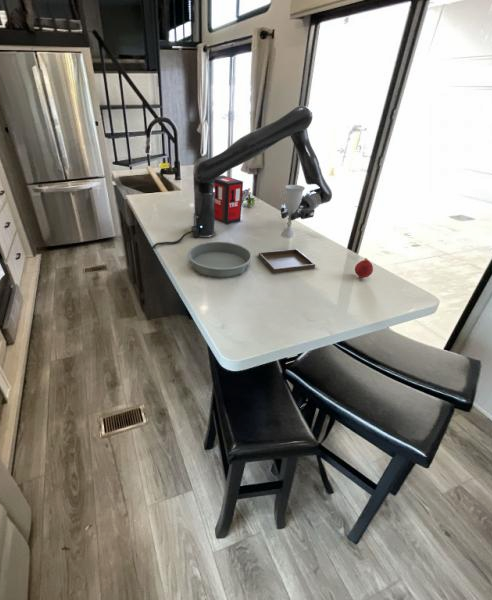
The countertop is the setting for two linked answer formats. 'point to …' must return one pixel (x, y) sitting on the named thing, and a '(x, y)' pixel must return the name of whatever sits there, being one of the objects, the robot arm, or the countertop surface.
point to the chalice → (292, 205)
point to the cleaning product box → (228, 199)
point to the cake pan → (219, 258)
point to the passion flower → (245, 197)
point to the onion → (364, 268)
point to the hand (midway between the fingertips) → (287, 216)
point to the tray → (286, 260)
